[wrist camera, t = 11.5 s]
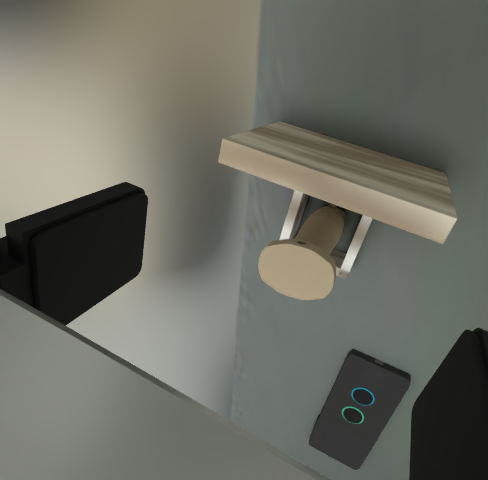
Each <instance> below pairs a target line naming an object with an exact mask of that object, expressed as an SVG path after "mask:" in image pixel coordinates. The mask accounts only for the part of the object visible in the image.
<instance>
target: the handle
mask: <svg viewBox="0 0 488 480" xmlns="http://www.w3.org/2000/svg"><path fill="white" fill-rule="evenodd" d="M344 218H345V212H344V211H342V210H340V209H339V208H338V206H337V205H334V204H332V203H331V204H330V205H328V206H325V207H320V208H319V209H318V210H316V211H315V212H314V213H312V214H311V215H310V216H309V217H308V218H307V220H306V221H305V222H304V224H303V225H302V227H301V229H300V231H299V232H298V234H297V236H296V237H295V239H283V240H278V241H273V242H271V243H270V244H269V245H267V246H266V248H265V249H264V250H263V251H262V252H261V255H260V258H259V266H258V267H259V273H260V276H261V278H262V280H263V281H264V282H266V283H267V284H268V285H269V286H271V287H272V288H273V289H274V290H276V291H278V292H279V293H281V294H284V295H287V296H290V297H293V298H296V299H301V300H314V299H323V298H325V297H326V296H327V295H328V294H329V293H330V291H331V289H332V287H333V285H334V282H335V279H336V264H335V261H334V259H333V258H332V257H331V256H330V255H329V254H330V253H331V251H332V250H333V249H334V247H335V246H336V244H337V243H338V241H339V239H340V237H341V235H342V232H343V228H344Z"/></svg>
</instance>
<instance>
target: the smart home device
mask: <svg viewBox="0 0 488 480" xmlns="http://www.w3.org/2000/svg"><path fill="white" fill-rule="evenodd" d="M409 385H410V374H408V373H406V372H404V371H402V370H399V369H397V368H395V367H393V366H391V365H388V364H386V363H384V362H382V361H379V360H377V359H375V358H373V357H370V356H368V355H366V354H364V353H362V352H359V351H357V350H355V349H352V350H351V351H350V352H349V353H348V355H347V357H346V359H345V362H344V364H343V366H342V368H341V370H340V372H339V375H338V377H337V379H336V381H335V383H334V385H333V388H332V390H331V392H330V394H329V396H328V398H327V401H326V403H325V405H324V407H323V409H322V411H321V414H320V415H319V416H318V418H317V420H316V422H315V424H314V429H313V431H312V433H311V436H310V439H309V445H310V446H312V447H314V448H316V449H317V450H319V451H321V452H323V453H325V454H327V455H328V456H330V457H332V458H334V459H336V460H338V461H339V462H341V463H343V464H345V465H347V466H349V467H350V468H352V469H354V470H357V469H359V468H360V467H361V465H362V463H363V462H364V460H365V458H366V457H367V455H368V454H369V452H370V451H371V449H372V447H373V446H374V444H375V442H376V441H377V439H378V437H379V436H380V434H381V432H382V431H383V429H384V427H385V426H386V424H387V422H388V421H389V419H390V417H391V416H392V414H393V412H394V411H395V409H396V408H397V406H398V404H399V403H400V401H401V399H402V398H403V396H404V394H405V393H406V391H407V390H408V388H409Z"/></svg>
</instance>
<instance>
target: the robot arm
mask: <svg viewBox="0 0 488 480" xmlns="http://www.w3.org/2000/svg"><path fill="white" fill-rule="evenodd" d="M147 205H148V197H147V196H146V195H145V192H144V190H143V189H142V188H140V187H137V186H135V185H133V184H130V183H127V182H124V183H121V184H118V185H115V186H112V187H109V188H106V189H103V190H101V191H98V192H95V193H92V194H89V195H86V196H83V197H80V198H78V199H75V200H72V201H69V202H66V203H63V204H60V205H57V206H55V207H52V208H49V209H46V210H43V211H40V212H38V213H35V214H32V215H29V216H26V217H23V218H20V219H17V220H15V221H12V222H9V223H6V224H5V229H6V236H5V237H3V238H0V480H330V479H328V478H327V477H325V476H323V475H321V474H320V473H318V472H316V471H315V470H313V469H311V468H309V467H308V466H306V465H304V464H303V463H301V462H299V461H298V460H296V459H294V458H292V457H291V456H289V455H287V454H286V453H284V452H282V451H280V450H279V449H277V448H275V447H274V446H272V445H270V444H269V443H267V442H265V441H263V440H262V439H260V438H258V437H257V436H255V435H253V434H251V433H250V432H248V431H246V430H245V429H243V428H241V427H240V426H238V425H236V424H234V423H233V422H231V421H229V420H228V419H226V418H224V417H222V416H221V415H219V414H217V413H216V412H214V411H212V410H210V409H209V408H207V407H205V406H203V405H202V404H200V403H198V402H197V401H195V400H193V399H192V398H190V397H188V396H186V395H184V394H183V393H181V392H179V391H178V390H176V389H174V388H172V387H171V386H169V385H167V384H166V383H164V382H162V381H160V380H159V379H157V378H155V377H154V376H152V375H150V374H148V373H147V372H145V371H143V370H141V369H140V368H138V367H136V366H135V365H133V364H131V363H129V362H128V361H126V360H124V359H122V358H121V357H119V356H117V355H115V354H114V353H112V352H110V351H109V350H107V349H105V348H103V347H101V346H100V345H98V344H96V343H94V342H93V341H91V340H89V339H88V338H86V337H84V336H82V335H80V334H79V333H77V332H75V331H74V330H72V329H70V328H68V327H66V325H67V324H69V323H70V322H71V321H73V320H74V319H76V318H77V317H79V316H80V315H81V314H83V313H84V312H86V311H87V310H89V309H90V308H92V307H93V306H94V305H96V304H97V303H99V302H100V301H102V300H103V299H104V298H106V297H107V296H109V295H110V294H112V293H113V292H115V291H116V290H118V289H119V288H120V287H122V286H123V285H125V284H126V283H128V282H129V281H130V280H132V279H133V278H135V277H136V276H137V275H138V274H139V272H140V270H141V267H142V259H143V248H144V237H145V227H146V226H145V225H146V216H147ZM409 480H488V331H485V330H483V329H481V328H476V329H475V330H474V331H473V332H472V331H470V330H468V329H467V330H465V331H464V332H463V333H462V334H461V336H460V337H459V339H458V340H457V341H456V343H455V344H454V346H453V347H452V349H451V350H450V352H449V353H448V355H447V356H446V357H445V359H444V360H443V362H442V363H441V365H440V366H439V368H438V369H437V370H436V372H435V373H434V375H433V376H432V378H431V379H430V381H429V382H428V384H427V385H426V386H425V388H424V389H423V391H422V392H421V394H420V395H419V397H418V398H417V400H416V401H415V403H414V406H413V409H412V418H411V448H410V479H409Z"/></svg>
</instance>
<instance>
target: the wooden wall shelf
mask: <svg viewBox="0 0 488 480" xmlns="http://www.w3.org/2000/svg"><path fill="white" fill-rule="evenodd" d="M218 162H220V163H222V164H225V165H227V166H230V167H233V168H236V169H238V170H241V171H244V172H247V173H249V174H252V175H255V176H257V177H260V178H263V179H266V180H268V181H271V182H274V183H277V184H279V185H282V186H285V187H288V188H290V189H293V190H294V194H293V197H292V200H291V203H290V207H289V210H288V213H287V217H286V220H285V223H284V226H283V230H282V233H281V236H280V240H283V239H295V237H296V236H297V231H298V228H299V224H300V221H301V218H302V215H303V212H304V209H305V206H306V203H307V200H308V197H309V195H310V196H312V197H315V198H318V199H321V200H323V201H326V202H329V203H332V204H334V205H337V206H340V207H343V208H345V209H348V210H351V211H354V212H356V213H359V214H362V215H363V216H362V218H361V221H360V223H359V226H358V228H357V230H356V233H355V235H354V238H353V240H352V242H351V245H350V247H349V250H348V252H347V254H346V253H343V252H341V251H338V250H336V249H333V250H332V251H331V253H330V254H329V255H330V256H331V257H332V258H333V259H334V261H335V264H336V275H337V276H339V277H342V278H344V279H347V276H348V274H349V272H350V269H351V267H352V265H353V262H354V260H355V258H356V256H357V253H358V251H359V249H360V246H361V244H362V242H363V240H364V237H365V235H366V233H367V230H368V228H369V226H370V223H371V221H372V219H375V220H378V221H381V222H384V223H386V224H389V225H392V226H395V227H397V228H400V229H403V230H406V231H408V232H411V233H414V234H417V235H419V236H422V237H425V238H428V239H430V240H433V241H436V242H439V243H441V244H443V243H444V241H445V239H446V238H447V236H448V234H449V232H450V231H451V229H452V227H453V225H454V223H455V222H456V220H457V216H456V212H455V208H454V204H453V200H452V196H451V192H450V188H449V184H448V180H447V176H446V173H443V172H440V171H437V170H434V169H431V168H427V167H424V166H421V165H418V164H415V163H411V162H408V161H405V160H402V159H399V158H395V157H392V156H389V155H386V154H383V153H380V152H376V151H373V150H370V149H367V148H364V147H360V146H357V145H354V144H351V143H348V142H344V141H341V140H338V139H335V138H332V137H328V136H325V135H322V134H319V133H316V132H312V131H309V130H306V129H303V128H300V127H297V126H293V125H290V124H287V123H284V122H281V121H279V122H276V123H272V124H269V125H266V126H262V127H259V128H256V129H252V130H249V131H246V132H242V133H239V134H236V135H232V136H229V137H226V138H223V139H222V145H221V150H220V155H219V161H218Z"/></svg>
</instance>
